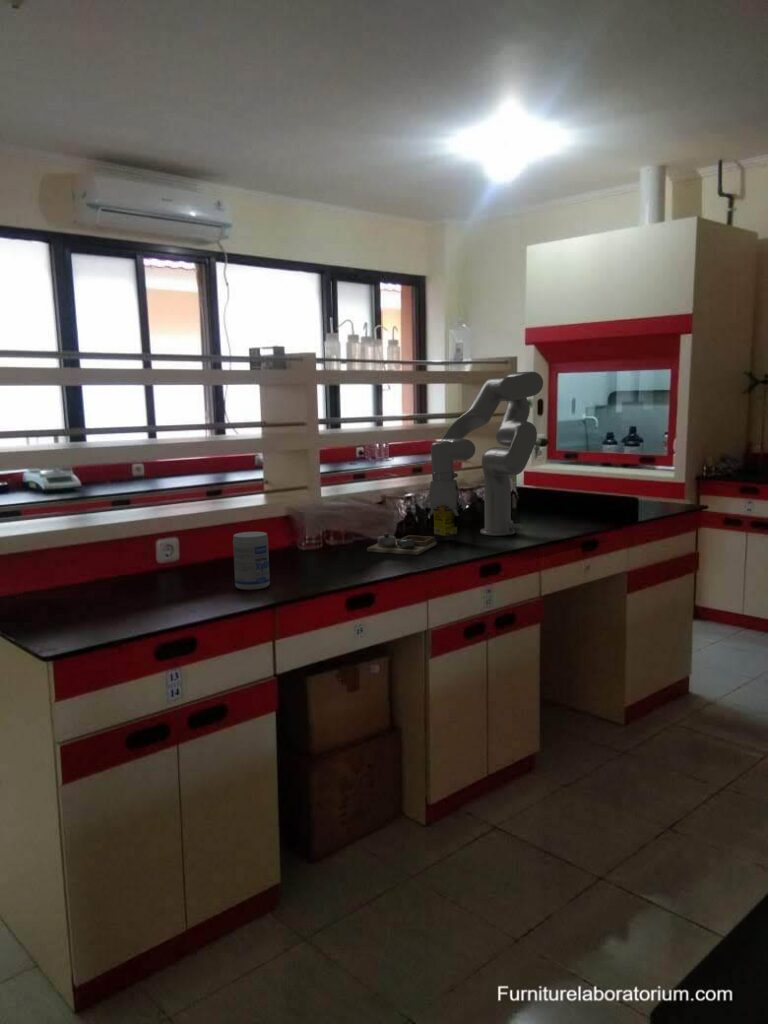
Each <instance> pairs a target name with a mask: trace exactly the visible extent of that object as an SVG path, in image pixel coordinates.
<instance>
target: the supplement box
mask: <svg viewBox="0 0 768 1024" xmlns="http://www.w3.org/2000/svg"><path fill="white" fill-rule="evenodd" d="M433 515H434V527H433V533H434V535H433V537H438V538H439V537H440V538H442V539H443V538H444V539H446V538H450V537H454V536H458V527H454V516H455V514H454V512H453V510H452V509H449V507H446V506H437V507H436V509H433Z"/></svg>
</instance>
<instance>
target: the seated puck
mask: <svg viewBox="0 0 768 1024" xmlns="http://www.w3.org/2000/svg"><path fill="white" fill-rule="evenodd" d="M400 539H401V538H400ZM399 548H400V549H413V548H415V547H414V539H401V540H399Z"/></svg>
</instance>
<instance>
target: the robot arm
mask: <svg viewBox="0 0 768 1024" xmlns="http://www.w3.org/2000/svg"><path fill="white" fill-rule="evenodd" d="M543 379H544V378H543V377H542V375H541V374H540V373H538V372H536V371H521V372H520V371H519V372H517V371H515V372H510V373H508V374H506V375H505V376H500V377H498V376H497V377H490V378H488V379H486V380H485V381H484V383H483V384H482V385H481V387H480V389H479V391H478V393H477V394H476V396H475V398H474V399H473V401H472V403H471V404H470V407H469V408H468V409H467V410H466V411H465V412H464V413H463V414H462V415H460V417H458V418H457V419H455V420H454V422H452V423H451V425H450V426H448V428H447V429H446V432H445V434H444V435H443V436H442V438H441V440H439V441H438V440H437V441H434V442H432V443H431V444H430V458H431V460H430V461H431V477H432V478H431V479H432V480H431V481H430V485H429V492H428V493H429V496H428V498H427V499H426V500H425V501H423V502H422V503H421V506H422V507H423V508H424V510H425V511H426V513H427V514H428V515H429V517H430V520H429V521H430V525H431V527H432V528H434V515H433V509H436V507H437V506H446V507H449V509H452V510H453V512H454V514H455V516H454V527H457V528H458V527H459V526H460V524H461V514H462V513H463V512H464V511H465V509H466V508H467V506H468V503H467V502H466V501H464V500H463V499H462V498H461V497H460V491H459V484H458V481H457V479H455V478H458V473H455V470H454V461H468V460H470V459H472V458H473V457H474V456H475V454H476V446H475V444H474V442H473V441H471V440H470V439H466V438H465V437H466V436H467V435H469V434H470V433H472V432H473V431H475V430H477V429H480V428H482V427H484V426H485V425H487V424H489V422H490V421H491V419H492V417H493V415H494V414H495V412H496V411H497V409H498V407H499V406H500V404H501V403H502V402H507V403H506V404H507V405H506V409H505V413H504V415H503V417H502V419H501V422H500V424H499V426H498V428H497V432H496V438H495V439H496V441H497V443H498V444H499V445H501V446H503V447H501V446H500V447H498V446H494V447H490V448H487V449H486V450H485V451H484V453H483V454H482V457H481V466H482V472H483V479H484V480H483V481H484V528H481V529H480V534H482V535H486V536H496V537H497V536H511V535H514V534H515V533H516V530H518V531H519V530H522V529H523V525H522V524H521V523H514V521H513V519H512V517H511V515H512V514H511V511H512V509H511V503H512V496H511V495H512V493H511V492H512V489H511V488H512V487H511V486H512V485H511V480H510V477H509V476H518V475H520V474H521V473H522V472H524V470H525V468H526V466H527V465H528V462H529V461H530V457H531V455H532V453H533V451H534V448H535V445H536V443H537V439H538V431H537V428H536V426H535V425H534V424H533V423H532V422H529V421H528V419H529V417H530V411H531V407H530V403H529V401H528V398H530V397H535V396H537V395H538V394H540V392H541V391H542V390H543V387H544V380H543ZM428 504H429V505H428ZM460 505H461V507H460ZM459 507H460V508H459Z"/></svg>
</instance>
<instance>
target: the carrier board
mask: <svg viewBox="0 0 768 1024" xmlns="http://www.w3.org/2000/svg"><path fill="white" fill-rule="evenodd" d="M383 534H384V535H381V536H378V537H377V542H376V543H375V544H373V545H370V546H368V547H366V552H370V553H385V554H397V555H398V554H401V555H413V556H415V555H416V556H418V555H421V554H422V553H424V552H425V551H427V550H430V549H431V548H433V547H435V546H436V545H437V540H436V536H428V535H427V536H426V535H425V536H423V535H406V536H403V537H401V538H397V537H396V536H395V535H390V533H388V532H386V533H383ZM401 539H414V547H415V548H413V549H400V548H399V540H401Z"/></svg>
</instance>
